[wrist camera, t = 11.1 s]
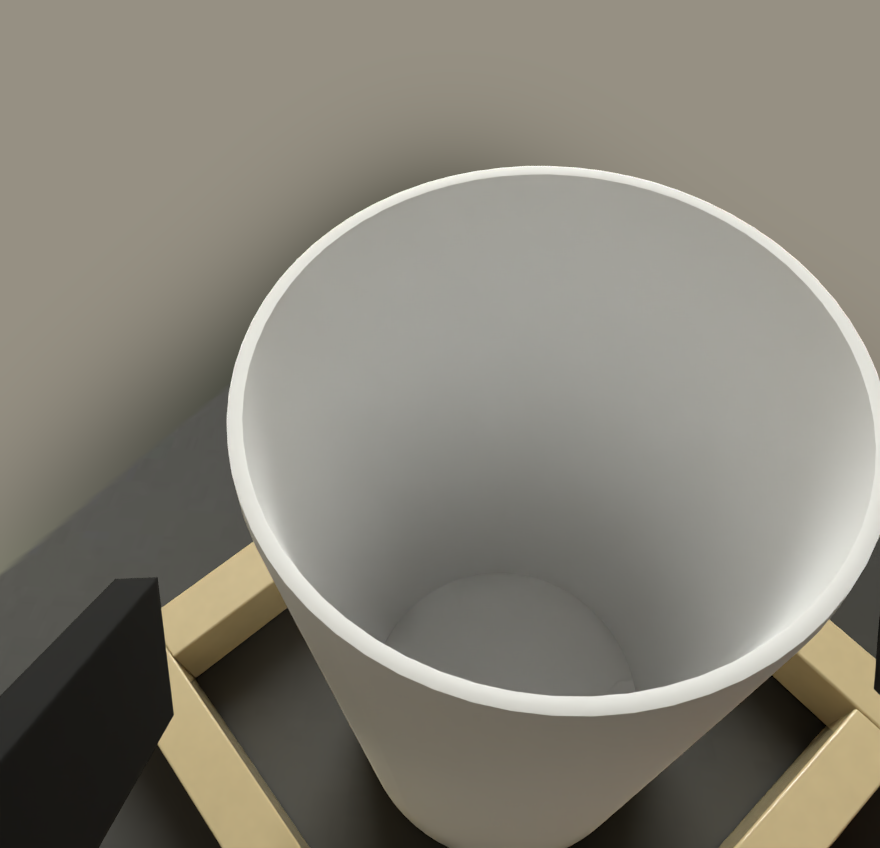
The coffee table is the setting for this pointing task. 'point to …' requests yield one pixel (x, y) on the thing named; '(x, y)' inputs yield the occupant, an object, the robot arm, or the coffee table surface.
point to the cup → (550, 483)
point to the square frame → (280, 844)
